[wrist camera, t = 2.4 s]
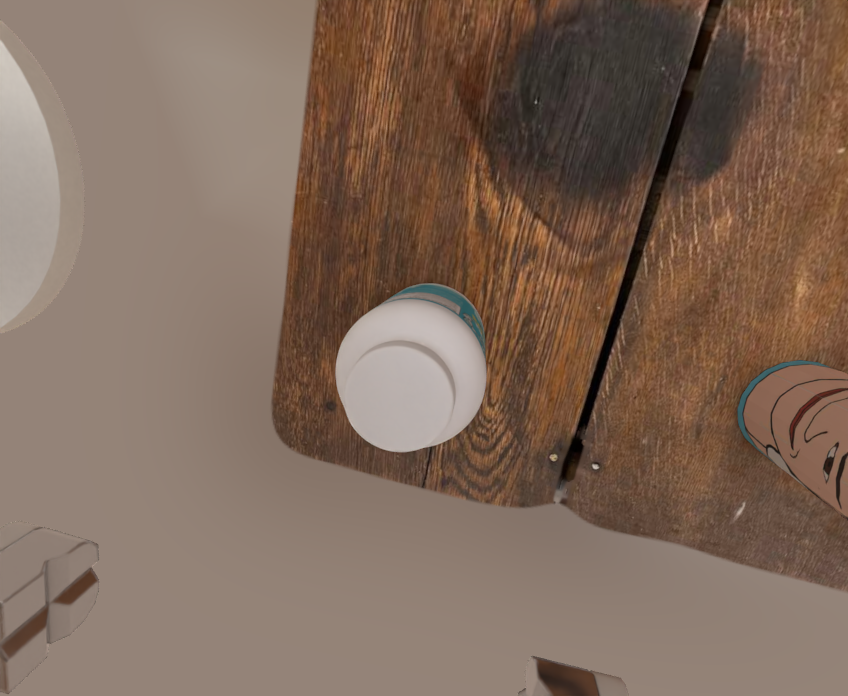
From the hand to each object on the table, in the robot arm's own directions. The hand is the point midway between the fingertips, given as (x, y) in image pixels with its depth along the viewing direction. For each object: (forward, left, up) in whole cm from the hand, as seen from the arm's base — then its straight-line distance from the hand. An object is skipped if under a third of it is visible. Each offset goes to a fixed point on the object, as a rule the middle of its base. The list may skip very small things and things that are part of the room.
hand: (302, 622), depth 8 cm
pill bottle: (0, 0, -25) cm, 25 cm away
